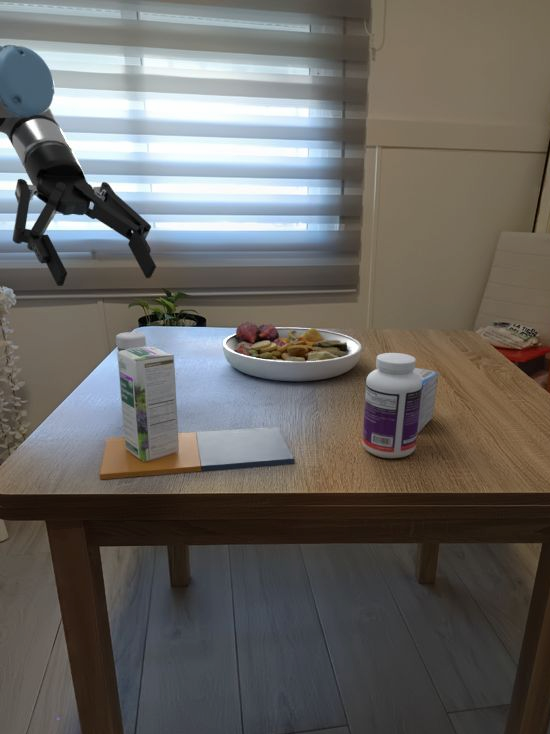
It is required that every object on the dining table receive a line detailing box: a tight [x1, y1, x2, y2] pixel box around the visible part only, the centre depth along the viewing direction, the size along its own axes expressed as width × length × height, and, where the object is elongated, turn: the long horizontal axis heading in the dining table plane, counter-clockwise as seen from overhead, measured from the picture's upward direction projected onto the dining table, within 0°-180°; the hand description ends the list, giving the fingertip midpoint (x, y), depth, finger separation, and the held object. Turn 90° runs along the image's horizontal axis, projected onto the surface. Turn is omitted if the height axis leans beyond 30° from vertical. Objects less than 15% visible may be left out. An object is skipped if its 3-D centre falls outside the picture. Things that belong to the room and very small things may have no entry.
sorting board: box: [99, 426, 295, 481], centre depth 83 cm, size 26×12×1 cm, turn 105°
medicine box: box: [413, 367, 439, 435], centre depth 95 cm, size 8×4×9 cm, turn 152°
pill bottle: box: [362, 352, 422, 459], centre depth 84 cm, size 8×8×14 cm
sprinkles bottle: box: [115, 331, 147, 352], centre depth 95 cm, size 5×5×13 cm
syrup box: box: [116, 346, 179, 462], centre depth 79 cm, size 6×6×14 cm
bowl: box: [222, 321, 362, 382], centre depth 125 cm, size 30×30×8 cm
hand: (109, 276), depth 83 cm, fingers open, 13 cm apart
